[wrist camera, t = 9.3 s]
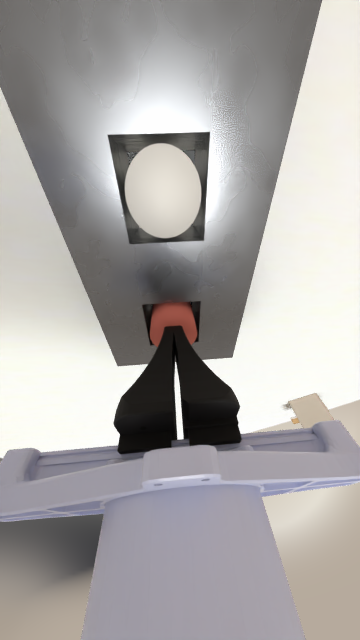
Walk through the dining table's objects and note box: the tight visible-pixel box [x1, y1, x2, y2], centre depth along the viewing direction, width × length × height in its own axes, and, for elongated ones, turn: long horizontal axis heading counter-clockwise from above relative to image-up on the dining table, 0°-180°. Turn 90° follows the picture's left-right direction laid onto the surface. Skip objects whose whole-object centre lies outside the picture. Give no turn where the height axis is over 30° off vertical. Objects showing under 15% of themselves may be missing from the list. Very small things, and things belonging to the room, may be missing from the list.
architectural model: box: [288, 393, 334, 428], centre depth 35 cm, size 3×7×7 cm, turn 123°
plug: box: [125, 143, 201, 238], centre depth 10 cm, size 4×4×5 cm
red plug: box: [150, 302, 197, 347], centre depth 16 cm, size 4×4×5 cm
